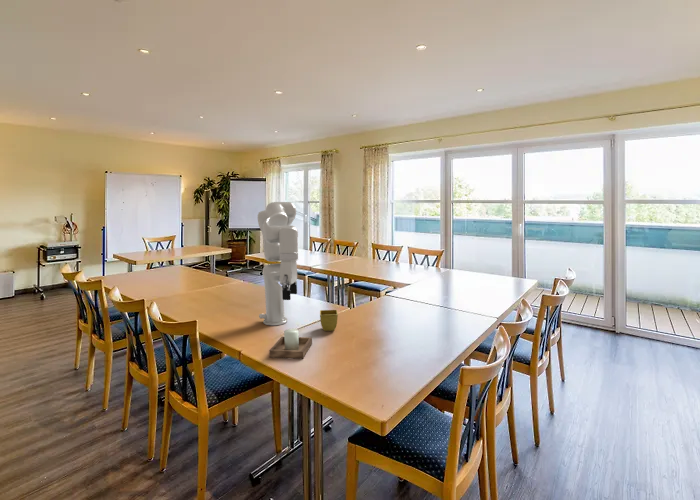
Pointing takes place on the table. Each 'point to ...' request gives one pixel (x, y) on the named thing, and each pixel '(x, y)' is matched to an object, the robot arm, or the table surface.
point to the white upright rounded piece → (291, 339)
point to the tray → (280, 351)
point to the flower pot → (328, 319)
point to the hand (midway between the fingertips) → (290, 296)
